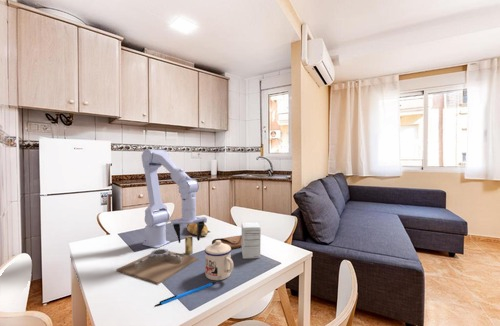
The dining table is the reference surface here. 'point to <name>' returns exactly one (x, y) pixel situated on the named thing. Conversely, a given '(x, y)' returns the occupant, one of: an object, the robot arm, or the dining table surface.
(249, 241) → the supplement box
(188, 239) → the brass pin
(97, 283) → the dining table surface
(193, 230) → the croissant
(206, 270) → the teacup with lid
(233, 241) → the sunglasses case
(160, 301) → the pen
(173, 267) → the board
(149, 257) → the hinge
